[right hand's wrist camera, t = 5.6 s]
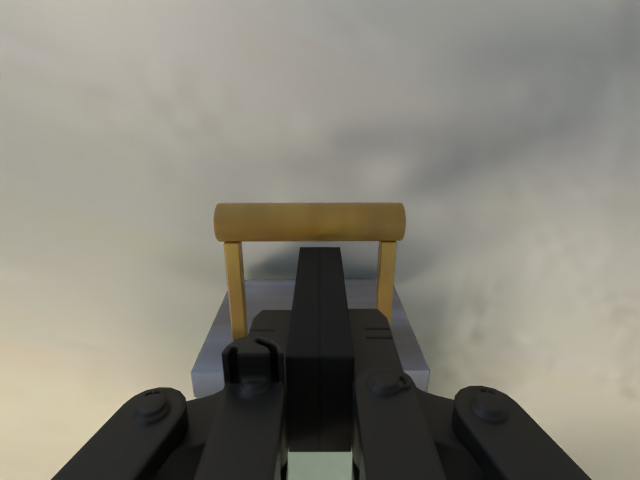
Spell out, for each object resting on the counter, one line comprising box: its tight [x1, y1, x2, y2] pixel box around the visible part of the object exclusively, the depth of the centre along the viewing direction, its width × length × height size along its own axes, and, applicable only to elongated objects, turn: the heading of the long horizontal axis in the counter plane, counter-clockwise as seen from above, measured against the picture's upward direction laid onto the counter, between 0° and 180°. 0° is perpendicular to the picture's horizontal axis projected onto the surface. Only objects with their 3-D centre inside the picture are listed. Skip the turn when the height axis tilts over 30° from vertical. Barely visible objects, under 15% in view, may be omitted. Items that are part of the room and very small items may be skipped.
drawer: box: [191, 203, 430, 397], centre depth 21 cm, size 26×9×8 cm, turn 0°
